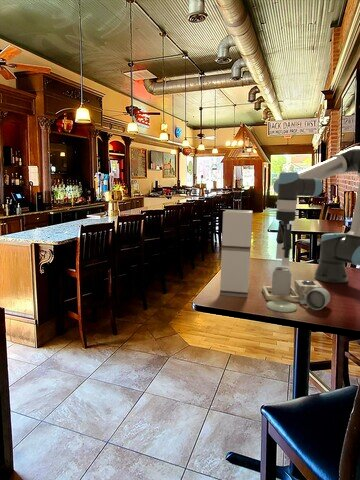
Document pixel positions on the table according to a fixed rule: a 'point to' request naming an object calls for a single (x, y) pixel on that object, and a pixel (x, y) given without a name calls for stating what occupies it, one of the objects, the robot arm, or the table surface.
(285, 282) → the can
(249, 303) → the table surface
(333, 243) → the robot arm
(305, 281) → the glossy grey oval piece
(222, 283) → the tall seamed white tower
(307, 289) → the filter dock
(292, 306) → the pad
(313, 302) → the ceramic mug
